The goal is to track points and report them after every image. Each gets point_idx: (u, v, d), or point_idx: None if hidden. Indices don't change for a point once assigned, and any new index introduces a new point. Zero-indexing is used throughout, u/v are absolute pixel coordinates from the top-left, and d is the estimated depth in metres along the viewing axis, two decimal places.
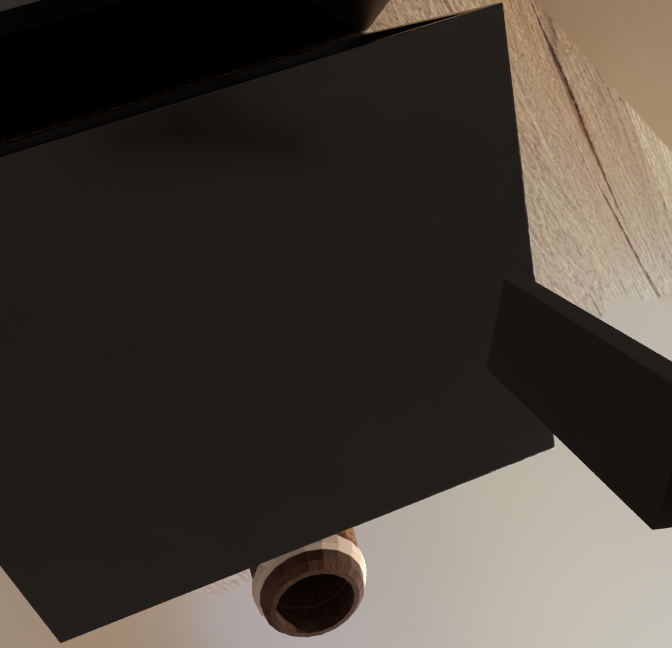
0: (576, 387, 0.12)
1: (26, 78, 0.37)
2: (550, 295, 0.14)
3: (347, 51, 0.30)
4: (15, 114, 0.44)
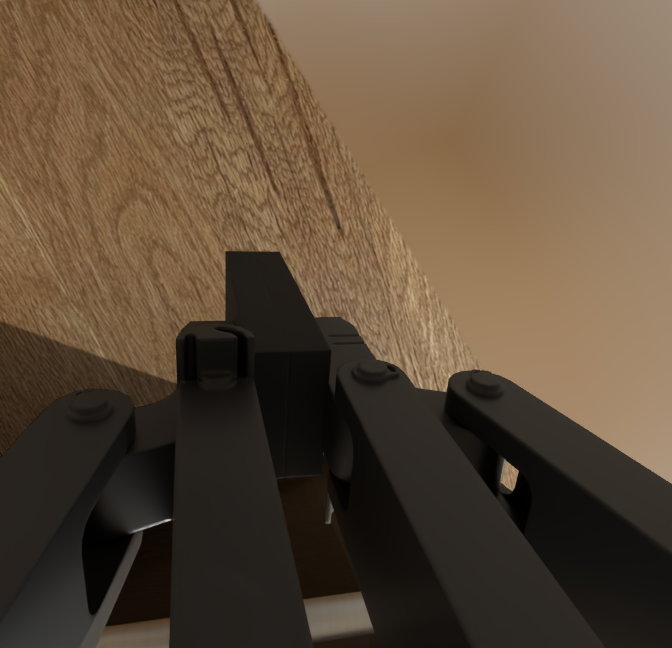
0: None
1: None
2: (278, 266, 0.15)
3: None
4: None
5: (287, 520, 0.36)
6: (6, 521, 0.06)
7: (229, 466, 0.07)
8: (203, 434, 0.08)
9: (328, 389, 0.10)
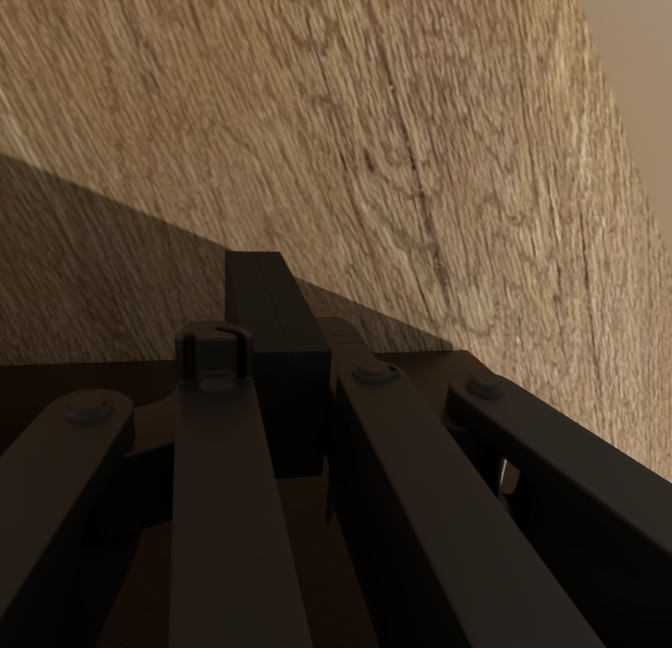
0: None
1: None
2: (278, 266, 0.15)
3: None
4: None
5: None
6: (5, 521, 0.06)
7: (228, 466, 0.07)
8: (203, 434, 0.08)
9: (329, 388, 0.10)
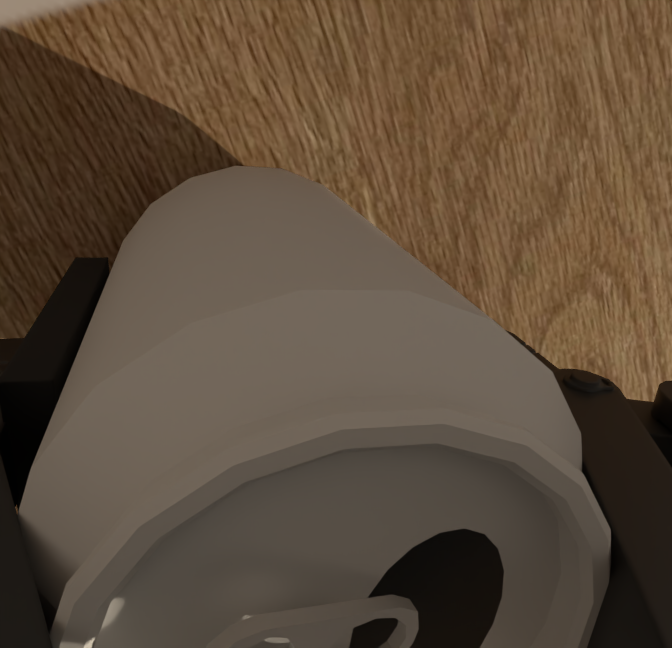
0: None
1: None
2: None
3: None
4: None
5: None
6: None
7: None
8: None
9: None
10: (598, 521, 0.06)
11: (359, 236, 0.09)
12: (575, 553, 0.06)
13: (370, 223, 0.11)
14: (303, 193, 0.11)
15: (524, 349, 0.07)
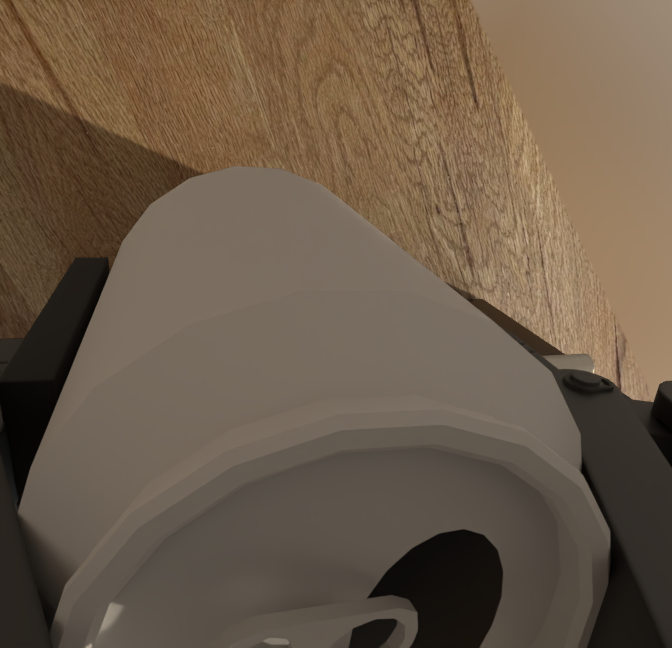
0: None
1: None
2: None
3: None
4: None
5: None
6: None
7: None
8: None
9: None
10: (598, 520, 0.06)
11: (359, 236, 0.09)
12: (574, 554, 0.06)
13: (370, 223, 0.11)
14: (303, 193, 0.11)
15: (523, 349, 0.07)
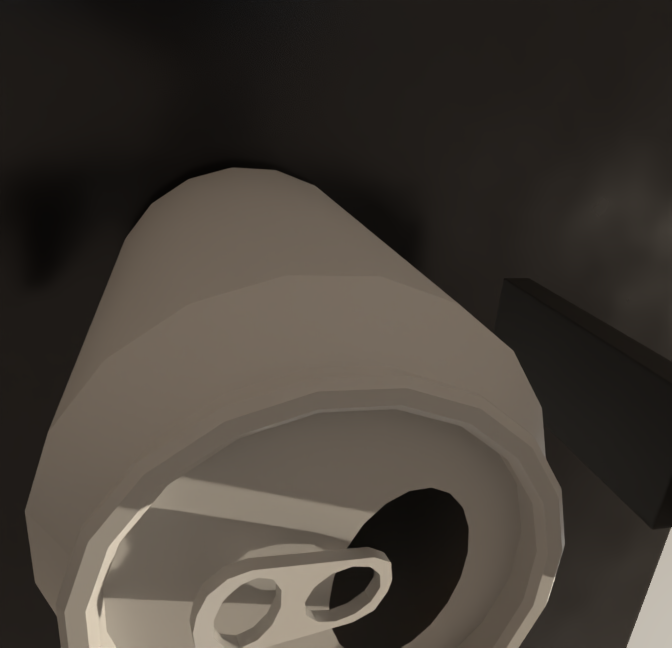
0: (576, 387, 0.12)
1: None
2: (550, 295, 0.14)
3: None
4: None
5: None
6: None
7: None
8: None
9: None
10: (549, 479, 0.07)
11: (343, 231, 0.09)
12: (530, 510, 0.07)
13: (356, 220, 0.12)
14: (294, 193, 0.12)
15: (486, 330, 0.08)
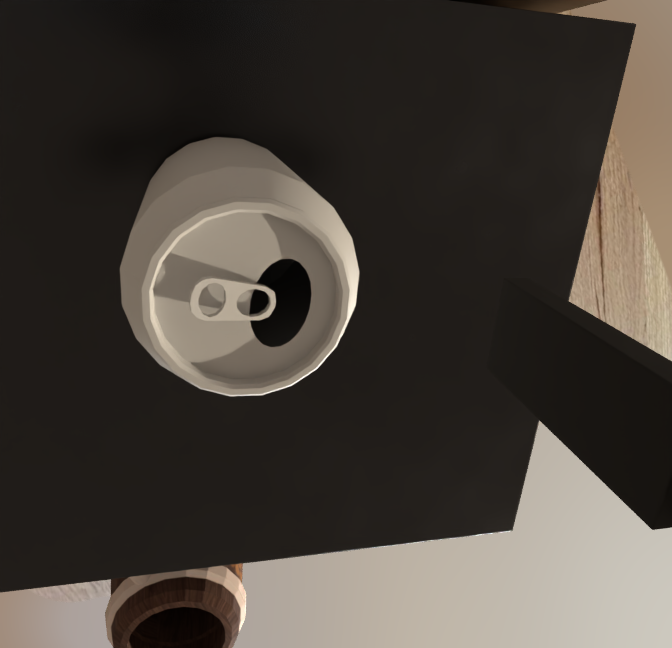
0: (576, 387, 0.12)
1: None
2: (550, 295, 0.14)
3: (468, 4, 0.26)
4: None
5: None
6: None
7: None
8: None
9: None
10: (337, 251, 0.17)
11: (264, 159, 0.19)
12: (333, 269, 0.17)
13: (280, 161, 0.22)
14: (247, 147, 0.22)
15: (319, 196, 0.17)
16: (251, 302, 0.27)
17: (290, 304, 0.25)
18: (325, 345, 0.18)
